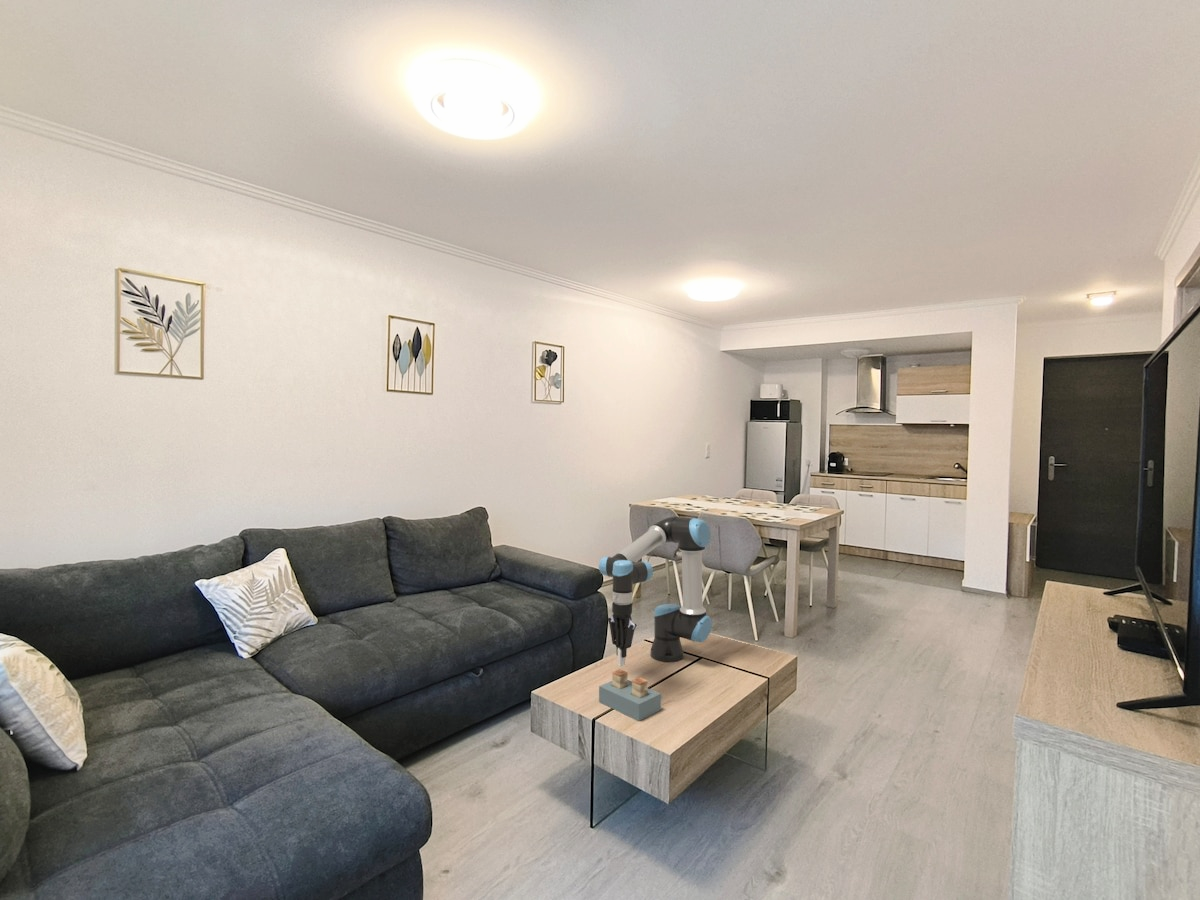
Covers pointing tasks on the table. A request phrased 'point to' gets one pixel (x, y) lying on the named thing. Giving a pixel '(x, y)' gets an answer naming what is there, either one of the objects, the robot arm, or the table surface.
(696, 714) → the table surface
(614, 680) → the peg
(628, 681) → the socket block
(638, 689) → the peg
